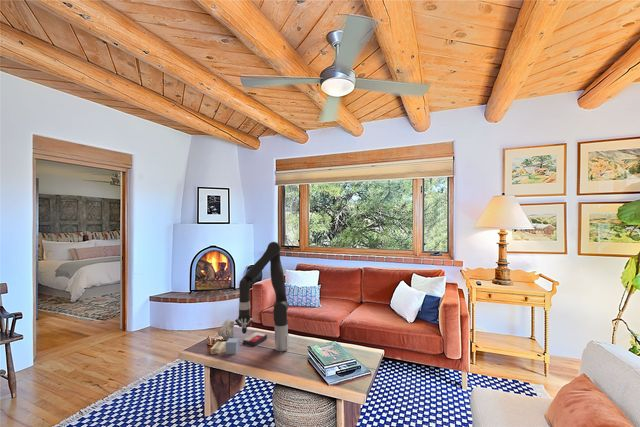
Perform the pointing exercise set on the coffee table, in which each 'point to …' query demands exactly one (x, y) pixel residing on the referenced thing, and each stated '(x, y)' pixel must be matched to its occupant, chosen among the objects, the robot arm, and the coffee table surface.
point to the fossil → (227, 330)
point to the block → (232, 346)
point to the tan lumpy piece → (218, 347)
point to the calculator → (255, 339)
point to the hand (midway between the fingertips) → (244, 333)
